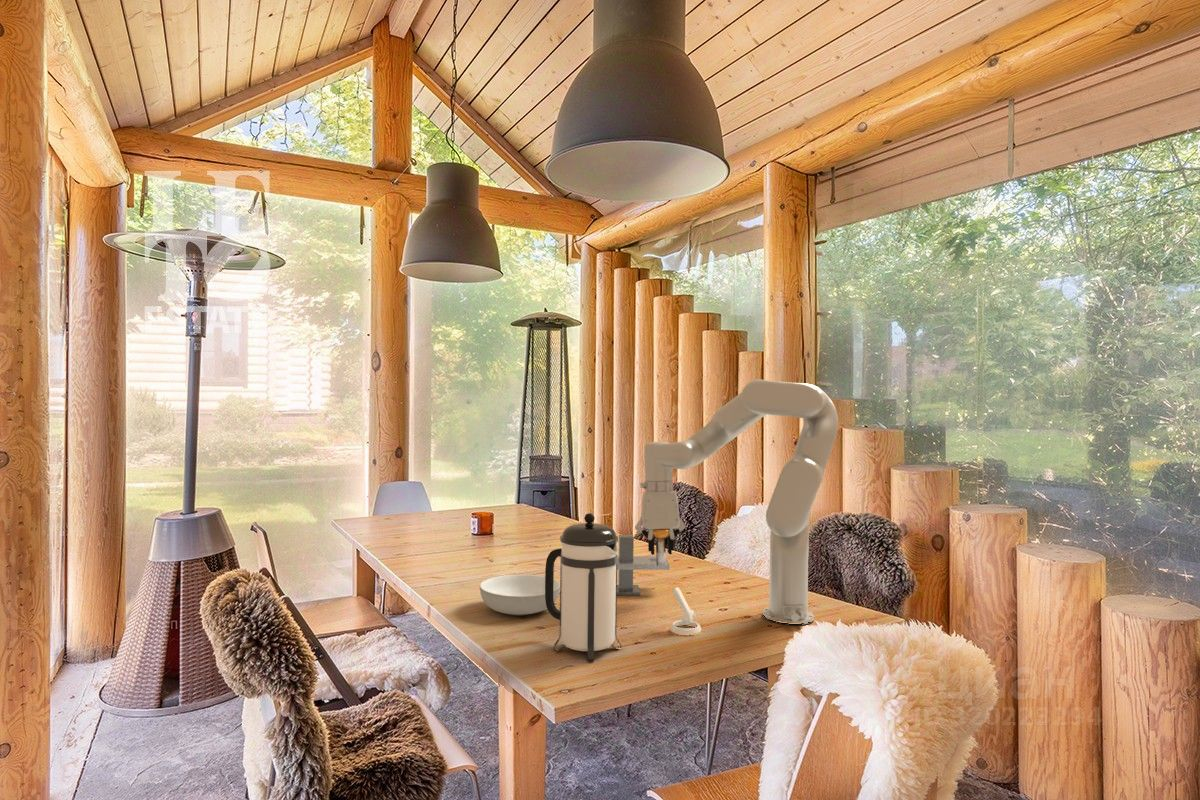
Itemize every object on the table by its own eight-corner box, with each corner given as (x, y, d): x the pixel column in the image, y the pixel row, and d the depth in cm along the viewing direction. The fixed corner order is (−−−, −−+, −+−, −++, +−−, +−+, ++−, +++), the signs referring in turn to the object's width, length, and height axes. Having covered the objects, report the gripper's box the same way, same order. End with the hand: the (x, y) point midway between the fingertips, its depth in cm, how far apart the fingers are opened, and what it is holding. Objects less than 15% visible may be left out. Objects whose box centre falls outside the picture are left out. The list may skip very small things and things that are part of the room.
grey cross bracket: (669, 596, 191) (669, 539, 191) (612, 596, 191) (613, 539, 191) (664, 586, 201) (665, 532, 201) (610, 586, 201) (611, 532, 201)
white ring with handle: (659, 599, 170) (683, 585, 169) (683, 644, 165) (707, 631, 164) (650, 601, 163) (675, 586, 162) (675, 648, 159) (700, 633, 157)
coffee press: (619, 636, 158) (620, 507, 158) (623, 662, 142) (625, 519, 142) (544, 636, 157) (546, 507, 157) (540, 662, 141) (542, 518, 141)
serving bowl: (483, 626, 164) (484, 597, 164) (475, 601, 184) (476, 576, 184) (567, 620, 170) (567, 592, 170) (551, 596, 190) (551, 572, 190)
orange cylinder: (671, 566, 183) (671, 529, 184) (652, 567, 183) (652, 530, 183) (669, 562, 189) (668, 526, 189) (650, 563, 188) (649, 527, 189)
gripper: (629, 489, 182) (631, 557, 182) (691, 487, 183) (693, 555, 182) (627, 486, 190) (629, 551, 189) (687, 484, 190) (689, 549, 190)
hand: (661, 552), depth 186 cm, fingers closed on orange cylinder, 4 cm apart
